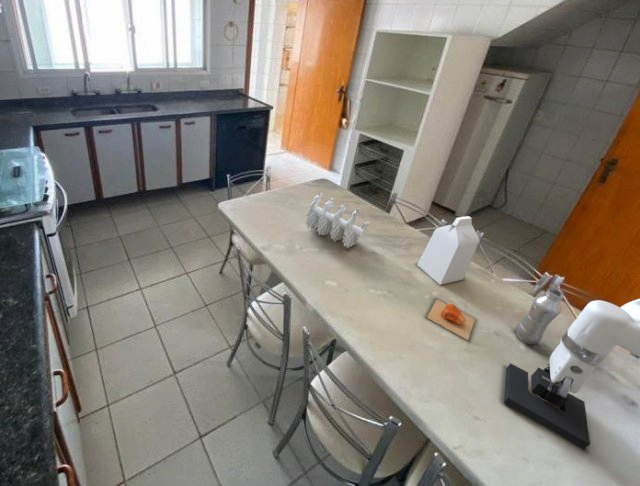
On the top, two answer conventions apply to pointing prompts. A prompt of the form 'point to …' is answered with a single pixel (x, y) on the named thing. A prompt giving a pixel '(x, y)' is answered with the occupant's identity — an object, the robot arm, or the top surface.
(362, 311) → the top surface
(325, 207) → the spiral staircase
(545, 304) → the plastic bottle
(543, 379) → the dark grey square block
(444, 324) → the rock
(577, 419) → the dark grey u-shaped block
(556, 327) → the top surface
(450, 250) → the milk
